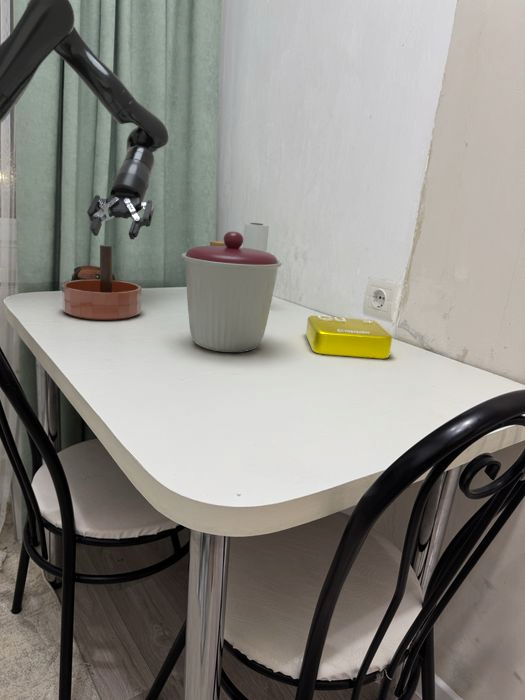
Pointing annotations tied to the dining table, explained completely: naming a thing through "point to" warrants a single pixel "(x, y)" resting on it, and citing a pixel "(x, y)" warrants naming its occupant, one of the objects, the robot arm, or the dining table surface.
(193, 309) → the canister
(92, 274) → the pottery mug
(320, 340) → the element tile
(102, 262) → the stirring stick
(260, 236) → the paper towel roll
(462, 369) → the dining table surface
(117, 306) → the bowl
